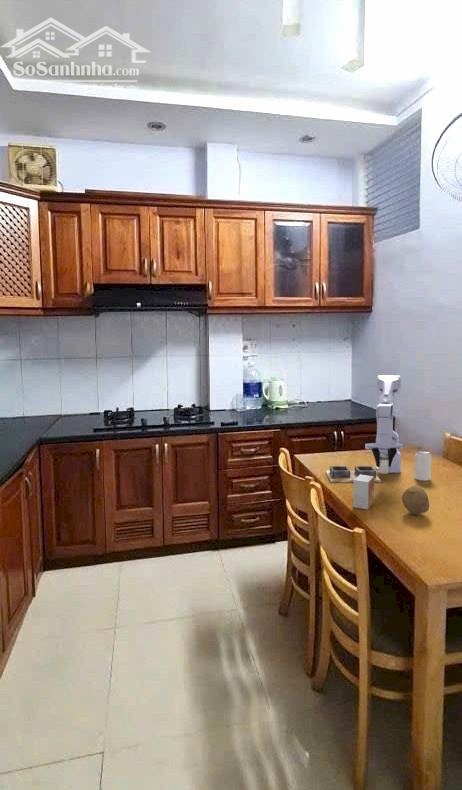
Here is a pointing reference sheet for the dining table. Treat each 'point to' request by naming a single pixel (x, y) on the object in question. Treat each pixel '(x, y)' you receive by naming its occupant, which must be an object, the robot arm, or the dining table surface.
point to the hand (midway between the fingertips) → (383, 466)
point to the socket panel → (350, 473)
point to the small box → (363, 492)
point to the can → (422, 465)
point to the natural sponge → (415, 500)
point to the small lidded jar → (383, 463)
